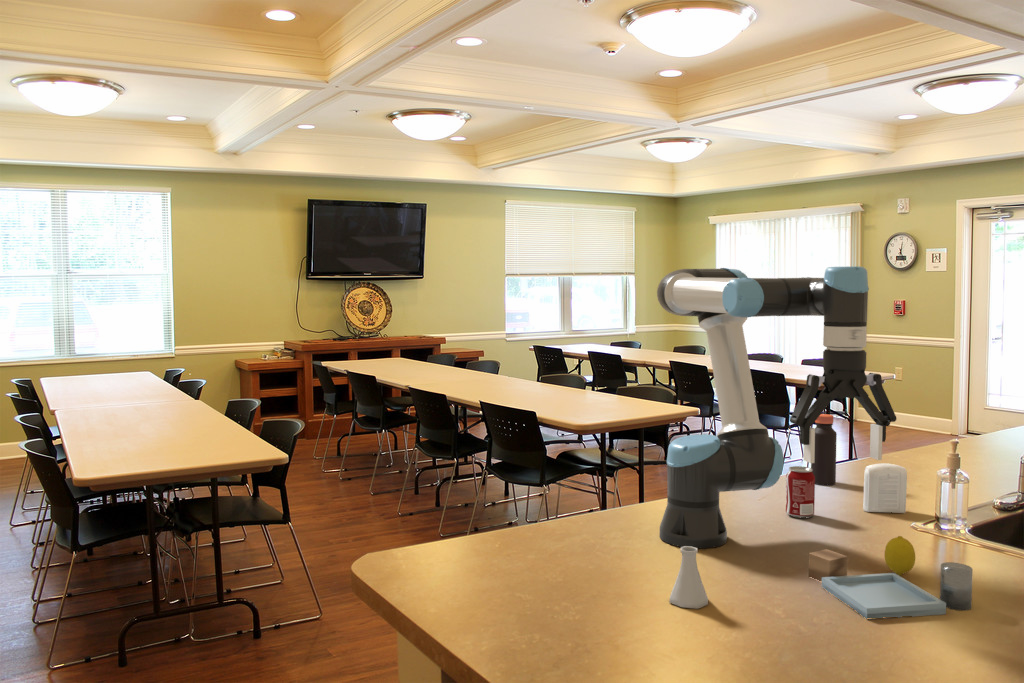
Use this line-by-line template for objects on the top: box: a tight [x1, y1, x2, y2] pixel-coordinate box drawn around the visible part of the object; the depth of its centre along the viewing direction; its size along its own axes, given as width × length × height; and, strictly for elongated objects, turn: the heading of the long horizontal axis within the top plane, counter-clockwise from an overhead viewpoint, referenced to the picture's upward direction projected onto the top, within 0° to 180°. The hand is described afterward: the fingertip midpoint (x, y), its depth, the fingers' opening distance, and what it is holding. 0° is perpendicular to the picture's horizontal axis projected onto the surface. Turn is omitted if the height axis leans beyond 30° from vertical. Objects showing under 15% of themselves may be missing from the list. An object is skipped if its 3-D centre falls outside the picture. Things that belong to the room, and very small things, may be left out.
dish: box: [821, 572, 947, 620], centre depth 146 cm, size 15×15×2 cm
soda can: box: [785, 465, 816, 519], centre depth 200 cm, size 7×7×12 cm
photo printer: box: [862, 462, 908, 514], centre depth 203 cm, size 10×4×12 cm, turn 84°
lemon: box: [884, 535, 916, 577], centre depth 159 cm, size 6×6×8 cm
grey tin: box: [939, 561, 974, 611], centre depth 144 cm, size 5×5×7 cm
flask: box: [668, 546, 709, 609], centre depth 146 cm, size 7×7×10 cm
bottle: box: [810, 413, 837, 486], centre depth 233 cm, size 7×7×20 cm
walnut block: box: [808, 548, 848, 582], centre depth 157 cm, size 5×5×5 cm
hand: (842, 460), depth 151 cm, fingers open, 13 cm apart
